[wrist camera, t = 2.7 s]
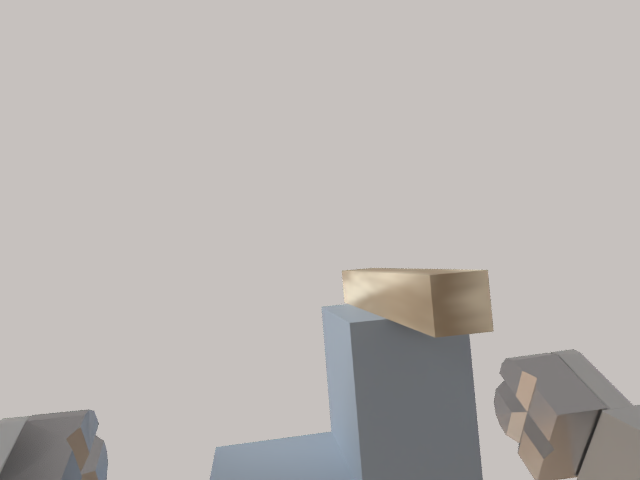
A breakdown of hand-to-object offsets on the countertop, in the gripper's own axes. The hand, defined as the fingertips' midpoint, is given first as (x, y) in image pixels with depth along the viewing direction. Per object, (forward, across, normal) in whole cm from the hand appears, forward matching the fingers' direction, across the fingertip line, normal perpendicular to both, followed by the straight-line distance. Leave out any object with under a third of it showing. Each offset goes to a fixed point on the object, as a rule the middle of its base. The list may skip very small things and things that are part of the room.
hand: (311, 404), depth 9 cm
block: (+20, -9, +13) cm, 25 cm away
